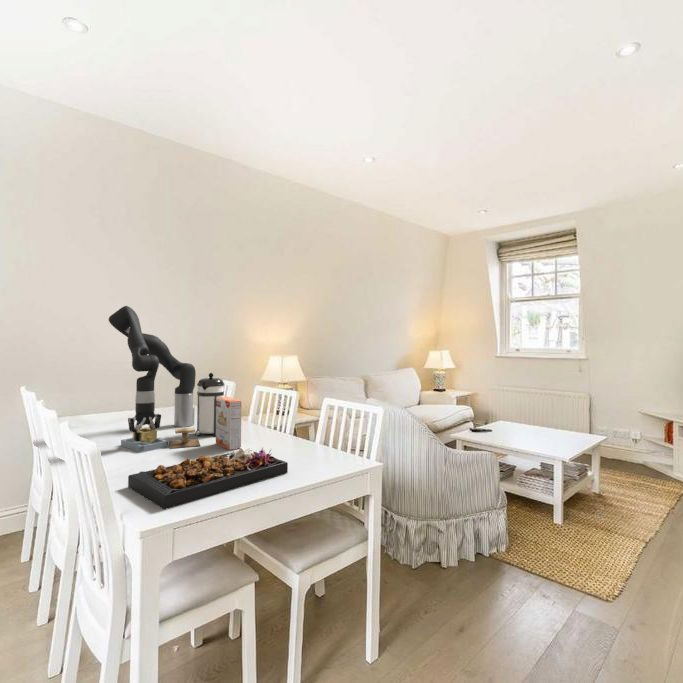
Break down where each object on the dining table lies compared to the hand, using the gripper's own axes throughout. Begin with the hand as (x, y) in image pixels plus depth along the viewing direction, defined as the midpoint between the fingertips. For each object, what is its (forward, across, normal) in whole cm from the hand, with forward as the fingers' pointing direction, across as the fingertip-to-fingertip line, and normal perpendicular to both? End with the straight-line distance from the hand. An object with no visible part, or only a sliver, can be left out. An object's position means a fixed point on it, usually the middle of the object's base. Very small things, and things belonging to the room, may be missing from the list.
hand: (144, 439), depth 184 cm
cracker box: (+3, +23, -27) cm, 36 cm away
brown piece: (+3, +13, -10) cm, 17 cm away
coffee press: (+3, +33, -1) cm, 33 cm away
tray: (+3, 0, 0) cm, 3 cm away
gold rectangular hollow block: (0, 0, 0) cm, 0 cm away
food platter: (+4, -8, -58) cm, 59 cm away
